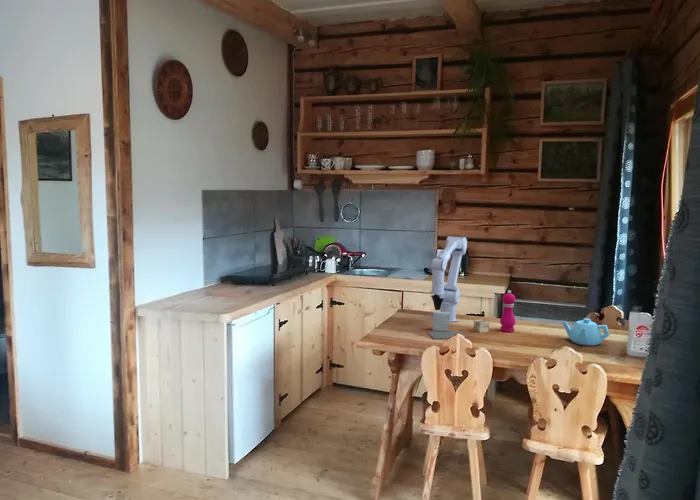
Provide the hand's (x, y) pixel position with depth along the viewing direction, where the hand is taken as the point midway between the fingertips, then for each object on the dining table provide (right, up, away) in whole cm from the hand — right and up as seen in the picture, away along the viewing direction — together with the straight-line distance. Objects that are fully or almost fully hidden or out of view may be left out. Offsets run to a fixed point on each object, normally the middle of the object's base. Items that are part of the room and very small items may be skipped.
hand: (437, 309), depth 271 cm
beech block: (+20, -10, -6) cm, 23 cm away
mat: (+2, -10, -15) cm, 18 cm away
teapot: (+63, -12, -23) cm, 68 cm away
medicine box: (+1, -10, -5) cm, 11 cm away
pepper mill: (+33, -10, -5) cm, 35 cm away
